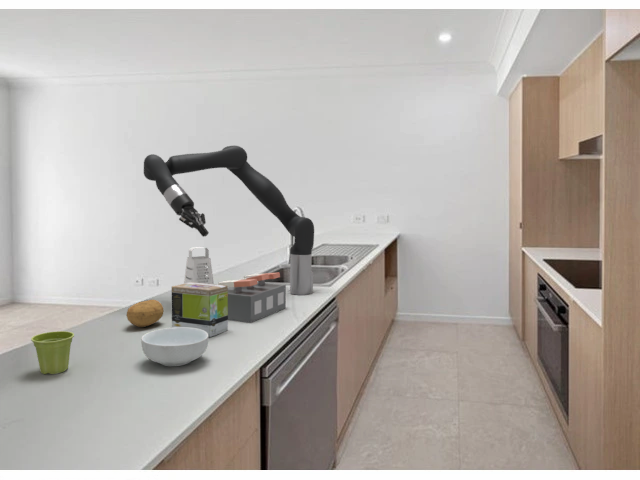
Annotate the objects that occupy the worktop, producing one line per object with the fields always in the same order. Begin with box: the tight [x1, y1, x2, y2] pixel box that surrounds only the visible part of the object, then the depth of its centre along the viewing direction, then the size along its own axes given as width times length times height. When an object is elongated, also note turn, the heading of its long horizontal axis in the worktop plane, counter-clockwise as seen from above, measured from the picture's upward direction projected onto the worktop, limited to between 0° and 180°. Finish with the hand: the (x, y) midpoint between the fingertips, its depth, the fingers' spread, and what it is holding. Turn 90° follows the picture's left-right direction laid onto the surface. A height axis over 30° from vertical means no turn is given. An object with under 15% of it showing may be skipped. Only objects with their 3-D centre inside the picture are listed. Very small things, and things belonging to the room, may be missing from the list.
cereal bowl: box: [140, 327, 209, 367], centre depth 139 cm, size 17×17×7 cm
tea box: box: [171, 282, 229, 338], centre depth 168 cm, size 15×10×15 cm
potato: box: [125, 299, 165, 328], centre depth 174 cm, size 10×14×8 cm
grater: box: [183, 246, 215, 284], centre depth 226 cm, size 10×10×20 cm
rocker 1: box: [217, 279, 258, 287], centre depth 186 cm, size 5×13×2 cm, turn 66°
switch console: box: [228, 280, 287, 323], centre depth 197 cm, size 31×16×11 cm, turn 156°
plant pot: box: [30, 330, 75, 375], centre depth 131 cm, size 9×9×9 cm
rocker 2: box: [239, 273, 269, 282], centre depth 194 cm, size 5×13×2 cm, turn 66°
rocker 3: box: [243, 272, 281, 281], centre depth 201 cm, size 5×13×2 cm, turn 66°
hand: (206, 234), depth 192 cm, fingers closed
